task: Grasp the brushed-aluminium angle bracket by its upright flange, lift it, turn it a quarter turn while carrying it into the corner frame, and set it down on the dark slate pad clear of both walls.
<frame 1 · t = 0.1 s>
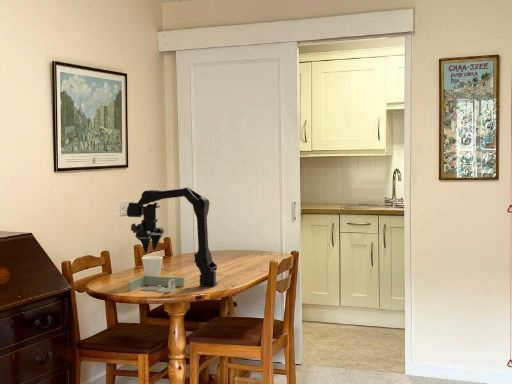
hand: (150, 251, 311), 15 cm above the table, fingers open, 9 cm apart
cup: (152, 281, 316), on the table
bracket: (171, 291, 292), on the table
pad: (154, 288, 298), on the table
corner frame: (157, 288, 298), on the table
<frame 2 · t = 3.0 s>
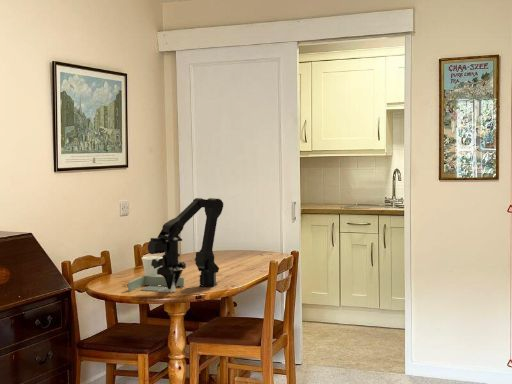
hand: (171, 287, 292), 2 cm above the table, fingers closed on bracket, 5 cm apart
bracket: (171, 291, 292), on the table, touching gripper
everything else where it was.
when the fingers open (3 cm above the table, at t = 6.6 s): bracket drops 1 cm, resting on pad.
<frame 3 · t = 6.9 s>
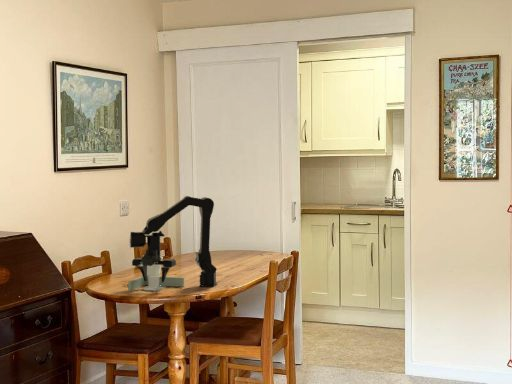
hand: (154, 281, 298), 3 cm above the table, fingers open, 8 cm apart
bracket: (154, 287, 298), resting on pad
everything else where it was.
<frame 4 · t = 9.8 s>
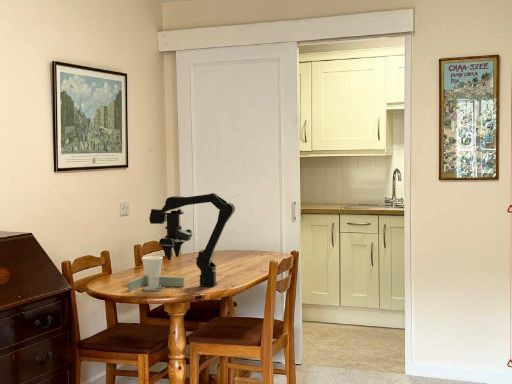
hand: (173, 258, 306), 12 cm above the table, fingers open, 9 cm apart
nothing on the table moved.
at the end: bracket inside the target area (0.0 cm from its centre), resting on pad; bracket tilted 0°; bracket touching pad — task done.
